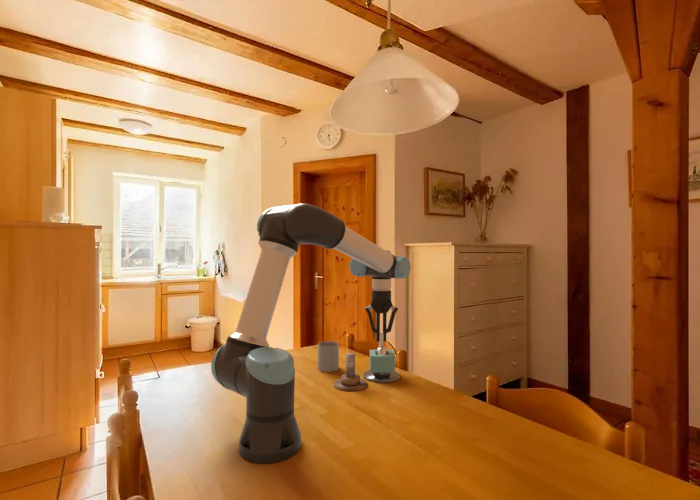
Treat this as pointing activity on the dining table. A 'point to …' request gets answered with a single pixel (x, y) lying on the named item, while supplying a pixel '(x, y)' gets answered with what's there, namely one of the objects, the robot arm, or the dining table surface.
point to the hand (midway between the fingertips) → (381, 349)
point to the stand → (350, 377)
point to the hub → (381, 376)
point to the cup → (328, 356)
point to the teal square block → (382, 361)
